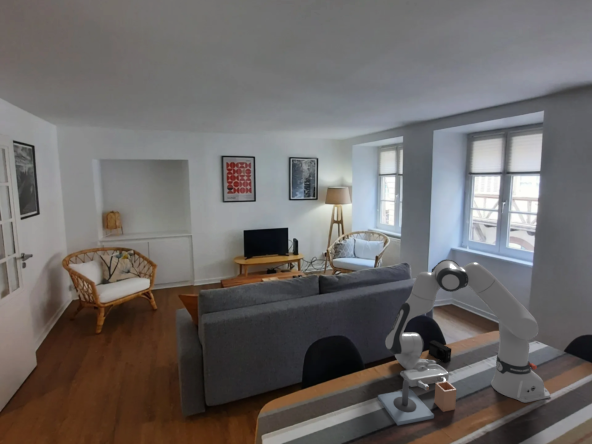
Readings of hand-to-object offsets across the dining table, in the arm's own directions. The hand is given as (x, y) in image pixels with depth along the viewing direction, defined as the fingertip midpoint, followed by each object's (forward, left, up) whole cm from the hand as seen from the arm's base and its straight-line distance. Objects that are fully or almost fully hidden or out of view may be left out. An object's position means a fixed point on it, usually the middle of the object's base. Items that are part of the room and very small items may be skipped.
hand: (437, 387), depth 142 cm
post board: (+16, +5, -5) cm, 18 cm away
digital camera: (-16, -30, -5) cm, 35 cm away
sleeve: (-1, +5, -5) cm, 7 cm away
